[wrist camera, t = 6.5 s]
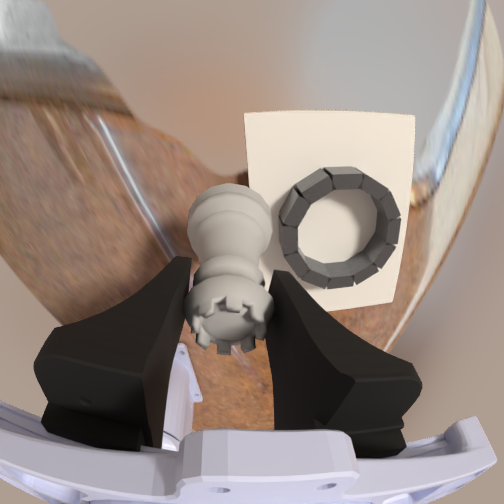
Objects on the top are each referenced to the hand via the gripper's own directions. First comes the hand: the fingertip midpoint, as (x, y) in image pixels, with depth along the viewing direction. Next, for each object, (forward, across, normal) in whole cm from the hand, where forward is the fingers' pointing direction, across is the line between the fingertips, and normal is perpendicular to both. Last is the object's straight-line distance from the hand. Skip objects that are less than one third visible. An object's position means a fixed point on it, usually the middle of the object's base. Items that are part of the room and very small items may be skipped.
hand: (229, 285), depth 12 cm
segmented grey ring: (+10, -8, 0) cm, 13 cm away
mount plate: (+10, -8, 0) cm, 13 cm away
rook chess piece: (+6, 0, -1) cm, 6 cm away
